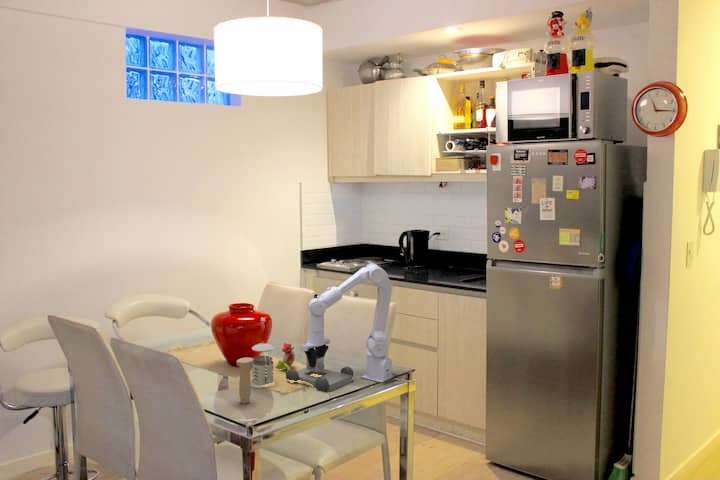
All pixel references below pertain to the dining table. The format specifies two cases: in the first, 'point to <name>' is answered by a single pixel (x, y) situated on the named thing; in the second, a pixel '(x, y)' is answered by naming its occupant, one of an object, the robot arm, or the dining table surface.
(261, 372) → the french press
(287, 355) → the bird rattle
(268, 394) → the dining table surface
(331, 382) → the chassis
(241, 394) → the handle
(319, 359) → the beige block
